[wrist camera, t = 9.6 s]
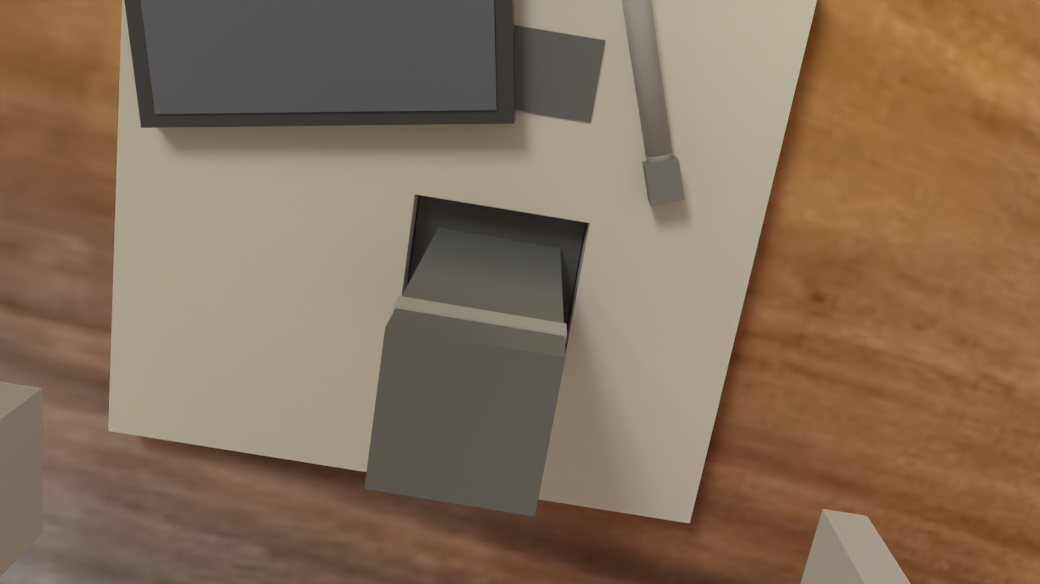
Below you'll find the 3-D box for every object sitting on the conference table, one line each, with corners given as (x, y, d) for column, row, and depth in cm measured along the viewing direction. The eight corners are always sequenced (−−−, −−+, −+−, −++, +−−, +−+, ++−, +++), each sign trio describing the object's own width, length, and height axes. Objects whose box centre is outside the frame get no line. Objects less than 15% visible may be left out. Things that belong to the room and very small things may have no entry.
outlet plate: (144, -138, 27) (125, -146, 26) (812, -25, 27) (824, -27, 26) (124, 416, 32) (107, 432, 31) (684, 505, 32) (690, 524, 31)
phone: (128, -88, 26) (111, -93, 25) (512, -97, 26) (510, -101, 25) (155, 124, 28) (140, 127, 27) (515, 120, 27) (514, 123, 26)
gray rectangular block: (437, 225, 29) (383, 324, 20) (561, 246, 30) (567, 355, 20) (420, 343, 31) (361, 490, 21) (540, 363, 31) (536, 518, 21)
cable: (588, -182, 25) (590, -189, 24) (625, -190, 25) (627, -198, 24) (648, 199, 28) (650, 205, 27) (680, 194, 28) (684, 199, 27)
